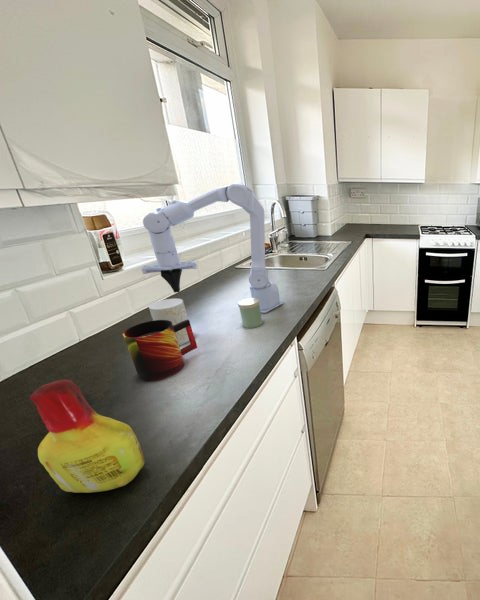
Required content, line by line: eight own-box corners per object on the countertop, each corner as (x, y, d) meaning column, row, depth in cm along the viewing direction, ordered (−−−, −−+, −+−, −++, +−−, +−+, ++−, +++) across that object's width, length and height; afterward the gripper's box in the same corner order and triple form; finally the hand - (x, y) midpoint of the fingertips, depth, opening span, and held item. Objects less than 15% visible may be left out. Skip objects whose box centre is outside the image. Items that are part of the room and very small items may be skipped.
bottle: (47, 507, 47) (-20, 402, 40) (79, 470, 53) (26, 373, 46) (135, 494, 49) (88, 391, 42) (157, 460, 55) (118, 364, 48)
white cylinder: (176, 348, 90) (164, 310, 86) (154, 344, 92) (141, 307, 87) (199, 335, 98) (189, 299, 93) (178, 332, 99) (167, 297, 95)
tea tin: (252, 318, 109) (248, 296, 106) (267, 321, 107) (263, 299, 104) (238, 326, 103) (233, 303, 100) (253, 329, 101) (248, 306, 98)
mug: (199, 350, 89) (188, 312, 85) (171, 380, 76) (157, 337, 72) (163, 352, 88) (150, 313, 84) (129, 382, 76) (112, 339, 71)
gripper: (133, 256, 93) (147, 298, 98) (190, 251, 98) (201, 291, 104) (140, 251, 99) (152, 291, 104) (193, 247, 104) (203, 285, 109)
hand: (177, 291), depth 104 cm, fingers closed
